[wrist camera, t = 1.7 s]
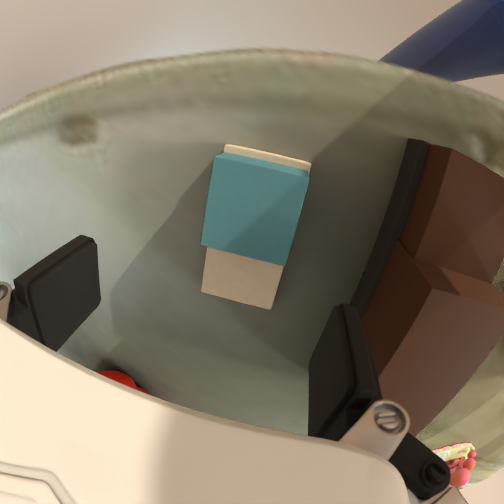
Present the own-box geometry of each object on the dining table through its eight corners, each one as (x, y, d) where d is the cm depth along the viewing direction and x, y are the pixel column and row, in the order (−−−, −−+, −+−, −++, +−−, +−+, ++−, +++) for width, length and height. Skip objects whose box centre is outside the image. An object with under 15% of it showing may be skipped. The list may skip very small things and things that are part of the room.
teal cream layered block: (228, 143, 20) (213, 147, 16) (310, 162, 19) (313, 170, 16) (204, 284, 25) (190, 309, 22) (272, 302, 25) (267, 330, 21)
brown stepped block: (408, 138, 17) (474, 150, 9) (492, 179, 17) (563, 213, 9) (313, 376, 28) (312, 449, 20) (386, 386, 27) (399, 453, 19)
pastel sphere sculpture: (453, 474, 39) (459, 503, 31) (364, 499, 46) (364, 529, 37) (481, 431, 31) (492, 469, 22) (361, 468, 37) (363, 511, 29)
